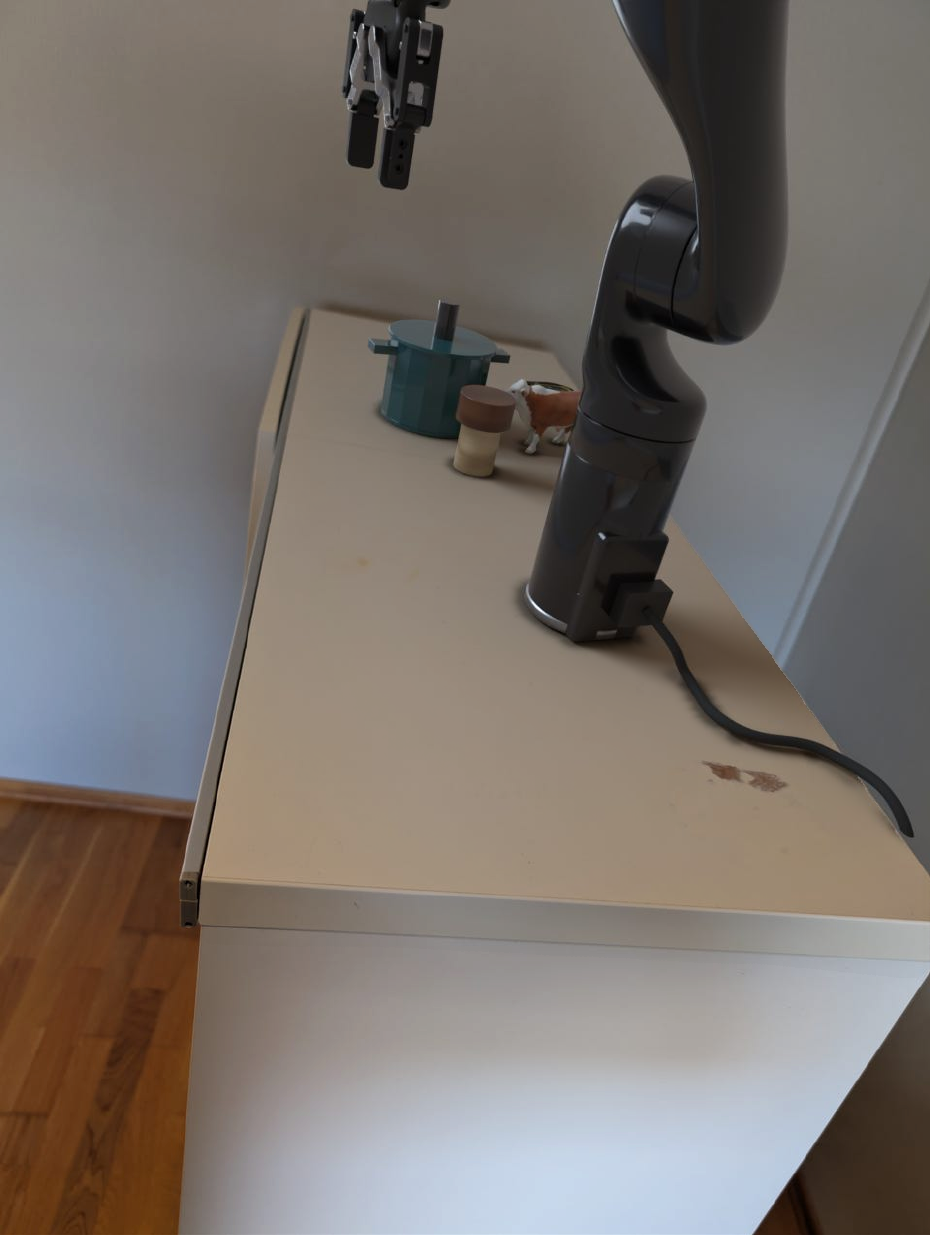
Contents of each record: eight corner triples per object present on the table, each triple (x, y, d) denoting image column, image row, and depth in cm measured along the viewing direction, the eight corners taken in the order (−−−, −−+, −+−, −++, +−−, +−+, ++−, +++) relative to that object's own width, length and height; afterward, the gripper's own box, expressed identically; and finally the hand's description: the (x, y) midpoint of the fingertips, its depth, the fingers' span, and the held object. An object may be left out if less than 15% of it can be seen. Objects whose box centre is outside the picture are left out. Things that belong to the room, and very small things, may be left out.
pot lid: (512, 368, 99) (523, 324, 96) (408, 361, 93) (416, 313, 91) (470, 333, 108) (478, 291, 105) (373, 324, 103) (379, 280, 100)
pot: (510, 440, 105) (529, 363, 100) (376, 435, 97) (389, 352, 92) (473, 403, 113) (488, 331, 108) (347, 396, 106) (357, 319, 101)
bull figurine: (486, 439, 103) (500, 373, 99) (579, 440, 109) (596, 378, 105) (502, 455, 100) (517, 387, 96) (597, 455, 106) (616, 391, 102)
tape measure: (555, 405, 119) (562, 379, 118) (580, 424, 114) (587, 397, 112) (512, 403, 117) (519, 376, 115) (535, 423, 112) (542, 395, 110)
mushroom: (508, 480, 94) (525, 407, 90) (458, 480, 92) (474, 404, 87) (486, 457, 99) (502, 386, 94) (438, 456, 96) (452, 383, 92)
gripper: (326, -98, 62) (304, 153, 70) (388, -109, 51) (354, 187, 60) (423, -69, 65) (391, 168, 74) (499, -74, 54) (452, 203, 63)
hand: (374, 177), depth 67 cm, fingers open, 8 cm apart
